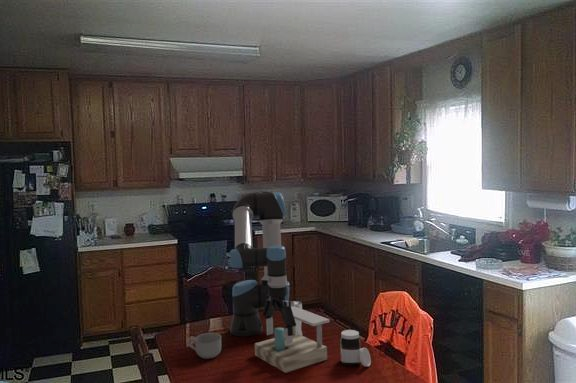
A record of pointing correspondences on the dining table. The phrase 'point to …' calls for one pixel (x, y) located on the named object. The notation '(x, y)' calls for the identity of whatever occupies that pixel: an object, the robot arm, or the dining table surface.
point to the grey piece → (310, 321)
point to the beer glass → (298, 323)
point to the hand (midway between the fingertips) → (279, 338)
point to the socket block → (291, 353)
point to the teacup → (206, 345)
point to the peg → (279, 339)
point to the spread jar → (353, 349)
